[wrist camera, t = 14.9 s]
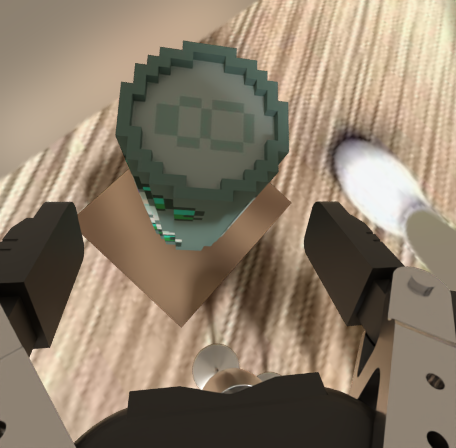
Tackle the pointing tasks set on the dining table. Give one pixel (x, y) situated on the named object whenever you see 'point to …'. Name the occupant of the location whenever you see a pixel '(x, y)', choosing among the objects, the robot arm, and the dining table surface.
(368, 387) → the robot arm
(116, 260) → the walnut shelf
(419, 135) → the dining table surface
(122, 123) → the can
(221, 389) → the goblet set
